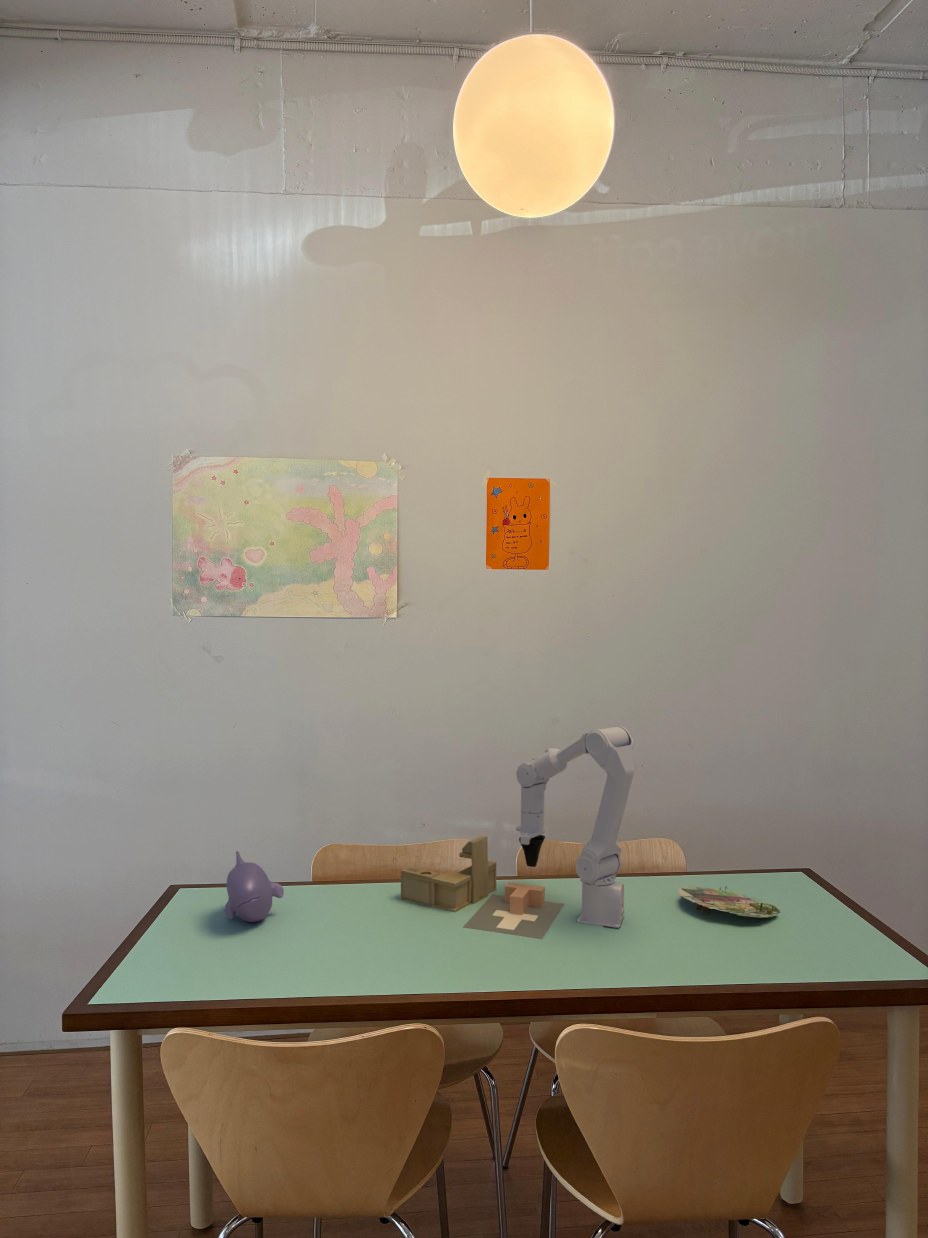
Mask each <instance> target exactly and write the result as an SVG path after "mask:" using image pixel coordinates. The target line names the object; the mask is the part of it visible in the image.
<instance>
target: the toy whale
mask: <svg viewBox="0 0 928 1238" xmlns="http://www.w3.org/2000/svg"><path fill="white" fill-rule="evenodd" d="M235 856H236V862H235V866H234V867H233V868H232V869H231V870H230V871H229V872H228V873H227V878H226V884H225V885H226V892H227V895H228V900H227V901H226V904H225V909H224V911H225V914H226V916H227V917H228V918H229V919H230V920H233V919H234V918H235V916H236V915H237V916H238V917H239V918H240V919H241V920H242V921H244V922H246V923H256V922H259V921H261V920H263V919H265V918H266V917H267V916H268V915H269V913H270V911H271V909H272V906H273V897H275V898H277V899H282V898H283V897H284V893H285V891H284V887H283V885H281V884H280V883H278V882H274V881H271V880H269V877H268V875H267V874H266V873H267V872H265V871H264V869H263V868H262V867H261V866H260V865H258V864H257V863H255V862H246V861H245V860H243V858H242V856H241V855H240V852H239V851H238V850H237V851H235Z"/></svg>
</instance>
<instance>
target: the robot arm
mask: <svg viewBox="0 0 928 1238" xmlns="http://www.w3.org/2000/svg"><path fill="white" fill-rule="evenodd" d="M634 746H635V741H634V739H633V737H632V736H631V733H630V732H629V730H628V729H627V728H626V727H625V726H621V725H615V726H612V727H605V728H601V729H592V730H590V731H588V732H585V733H583V734H581V735H580V736H579V737H578V738H576V739H574V740H573V741H572V742H570V743H568V744H567V745H565V746H564V747H562V748H561V749H559V748H557V747H556V748H552V747H550V748H546V749H545V750H544V753H543V754H541V755H539V756H534V757H532V758H531V759H532V760H531V761H530V762H521V763H520V765H518V767H517V769H516V773H515V775H516V776H515V777H516V780H517V782H518V784H519V785H520V825H518V826H516V827H515V831H517V832H519V833H520V837H519V838H518V841H519V844H520V845H521V848H522V851H523V854H524V857H525V863H526V866H527V867H532V868H536V867H537V865H538V860H539V856H540V851H541V849H542V845H543V843H544V841H545V839H546V836H545V835H544V834H545V833H546V831H545V830H546V829H545V791H546V790H547V784H548V782H549V781H550V779H551V778H553V777H555V776H556V775H558V774H560V773H562V772H563V771H565V770H566V769H567V767H568V762H571V761H573V760H574V759H576V758H578V757H581V756H583V755H587V754H588V755H590V757H591V758H592V759H593V760H594V761H595V762H596V763H597V764H598V765H599V766H600V768H601V769H602V770H603V771H605V772H606V775H607V776H606V780H605V784H604V787H603V792H602V795H601V800H600V803H599V807H598V811H597V816H596V820H595V823H594V827H593V832H592V836H591V837H590V839H589V840H588V841H587V842H586V843H585V845H584V846H583V847H582V851H581V853H580V855H578V857H577V858H576V859H575V872H576V874H577V876H578V877H579V879H580V882H581V913H580V915H579V916H578V917H577V920H576V922H577V923H581V924H589V925H595V926H596V925H597V926H602V927H609V928H615V929H616V928H617V929H619V928H620V927H621V925H622V923H623V920H624V918H625V884H624V883H622V882H618V881H616V879H617V878H616V877H617V874H618V873H619V872H620V870H621V868H622V860H621V852H622V848H621V846H620V845H619V844H618V843H617V840H618V836H619V832H620V828H621V826H622V820H623V817H624V814H625V809H626V805H627V801H628V797H629V794H630V790H631V787H632V782H633V778H634V774H635V769H634V767H635V766H634V758H633V750H634Z"/></svg>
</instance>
